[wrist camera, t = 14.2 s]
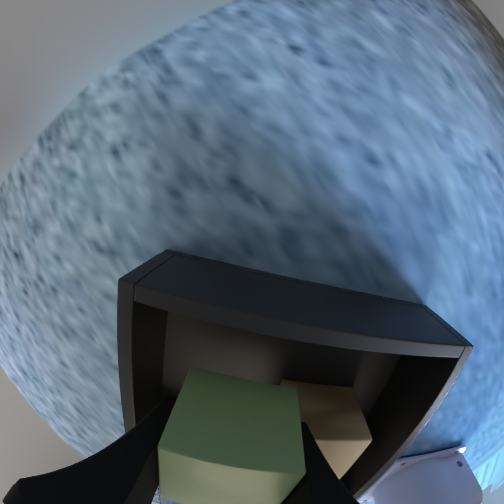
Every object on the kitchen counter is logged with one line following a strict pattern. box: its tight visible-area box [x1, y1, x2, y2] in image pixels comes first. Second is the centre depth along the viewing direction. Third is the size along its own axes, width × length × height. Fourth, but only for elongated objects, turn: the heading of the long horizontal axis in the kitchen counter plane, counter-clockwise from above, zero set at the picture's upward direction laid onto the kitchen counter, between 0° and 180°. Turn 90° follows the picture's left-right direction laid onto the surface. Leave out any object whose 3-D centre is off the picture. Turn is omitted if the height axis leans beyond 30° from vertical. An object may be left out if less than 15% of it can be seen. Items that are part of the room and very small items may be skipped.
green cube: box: [157, 367, 306, 504], centre depth 8 cm, size 4×4×4 cm
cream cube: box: [280, 379, 372, 479], centre depth 11 cm, size 4×4×4 cm
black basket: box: [117, 249, 473, 499], centre depth 11 cm, size 13×12×4 cm
